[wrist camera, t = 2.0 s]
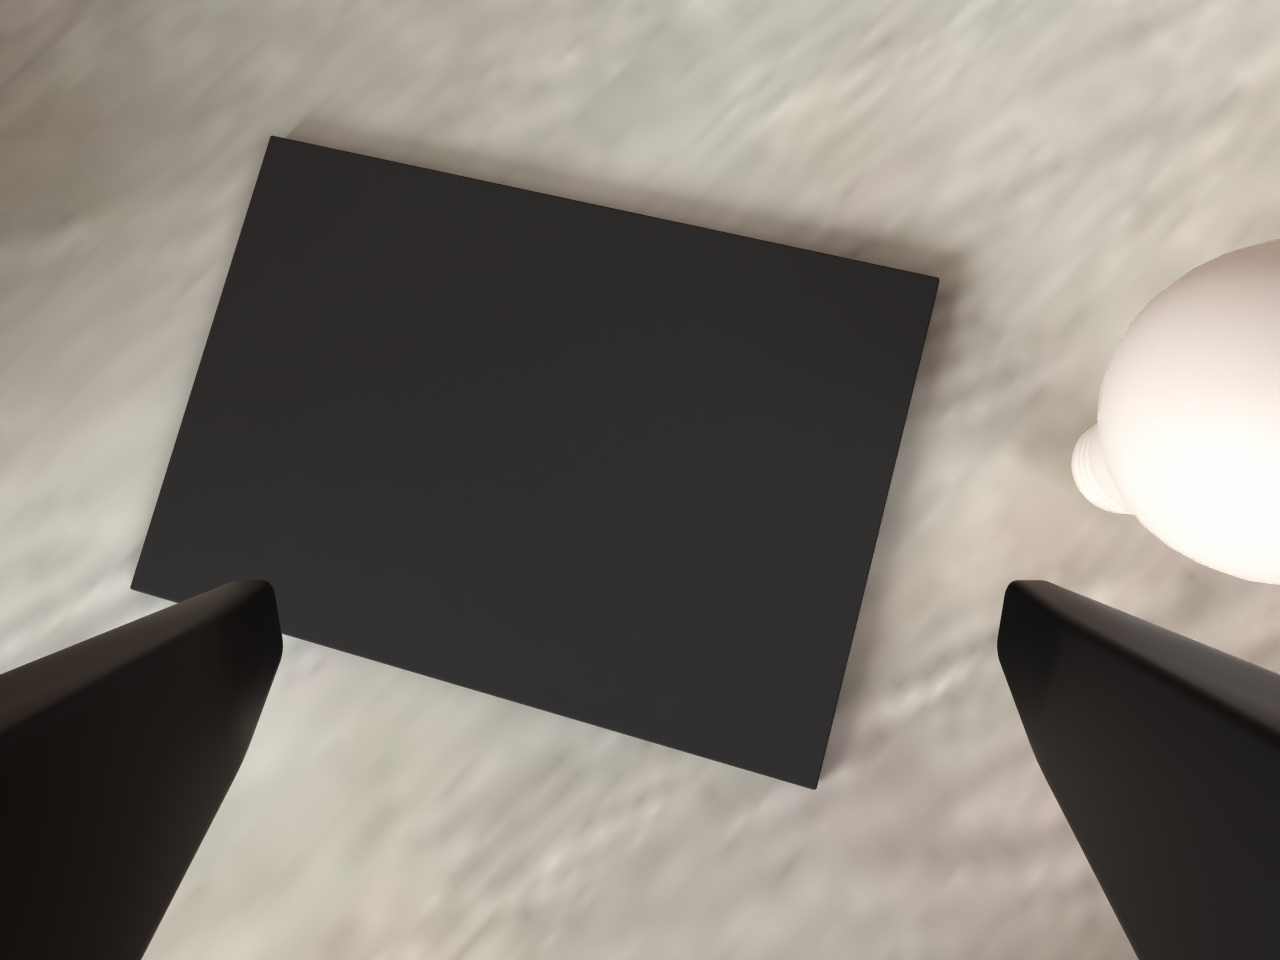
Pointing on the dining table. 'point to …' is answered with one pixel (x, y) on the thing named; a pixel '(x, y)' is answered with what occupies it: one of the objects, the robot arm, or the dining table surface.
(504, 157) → the dining table surface
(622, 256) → the mat
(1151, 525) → the lightbulb
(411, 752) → the dining table surface
